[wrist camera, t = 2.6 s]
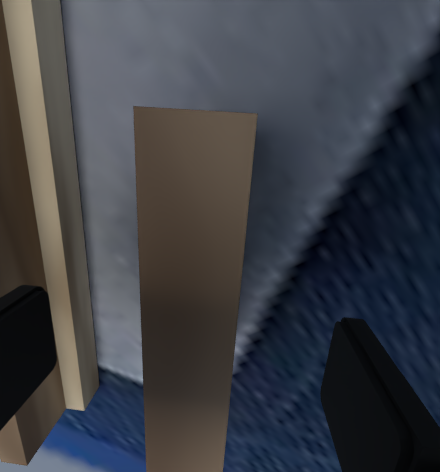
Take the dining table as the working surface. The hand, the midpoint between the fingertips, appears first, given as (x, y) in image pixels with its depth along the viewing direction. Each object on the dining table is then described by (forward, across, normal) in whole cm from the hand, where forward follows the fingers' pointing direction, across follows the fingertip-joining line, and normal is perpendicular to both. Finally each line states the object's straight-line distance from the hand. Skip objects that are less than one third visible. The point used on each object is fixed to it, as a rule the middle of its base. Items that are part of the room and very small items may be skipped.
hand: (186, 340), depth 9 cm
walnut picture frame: (+8, 0, -1) cm, 8 cm away
